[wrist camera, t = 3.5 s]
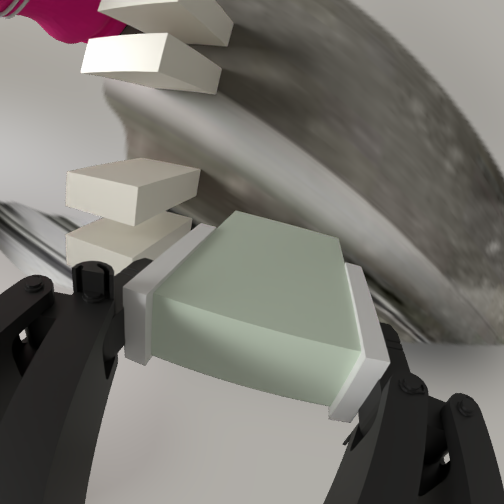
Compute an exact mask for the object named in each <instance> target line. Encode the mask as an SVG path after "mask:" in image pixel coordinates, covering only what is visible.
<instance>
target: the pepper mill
mask: <svg viewBox="0 0 504 504" xmlns="http://www.w3.org/2000/svg"><path fill="white" fill-rule="evenodd" d="M100 2H101V0H0V17H4V18H5V19H10V18H12V17H14V16H15V15H22V16H26V17H29V18H31V19H33V20H35V21H36V22H37V23H38V24H39V25H40V26H41V27H42V28H43V29H44V30H45V31H46V32H47V33H48V34H49V35H50V36H52V37H53V38H55V39H56V40H59V41H61V42H64V43H68V44H72V43H73V44H74V43H79V42H84V43H87V44H88V41H89V39H93V38H100V37H109V36H118V35H119V34H120V33H121V32H122V31H123V30H124V28H125V27H126V25H127V24H125V23H123V22H121V21H119V20H117V19H114V18H112V17H110V16H108V15H105V14H103V13H101V12H98V8H99V5H100Z"/></svg>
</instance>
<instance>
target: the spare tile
mask: <svg viewBox="0 0 504 504" xmlns="http://www.w3.org/2000/svg"><path fill="white" fill-rule="evenodd" d="M361 352H362V351H361V345H360V339H359V334H358V328H357V323H356V317H355V312H354V307H353V302H352V297H351V293H350V288H349V283H348V279H347V274H346V270H345V263H344V259H343V255H342V251H341V247H340V243H339V239H338V238H336V237H332V236H329V235H325V234H322V233H318V232H315V231H311V230H307V229H304V228H300V227H297V226H293V225H289V224H285V223H282V222H278V221H274V220H271V219H267V218H263V217H259V216H255V215H251V214H248V213H244V212H240V211H235V212H234V213H233V214H231V215H230V216H229V217H228V218H227V219H226V220H225V221H224V222H223V223H222V224H221V225H220V226H219V227H218V228H217V229H216V231H215V232H214V233H213V234H212V235H211V236H210V237H209V238H207V239H206V240H205V241H204V242H203V243H202V244H201V245H200V246H199V247H198V248H197V249H196V250H195V251H194V252H193V253H192V254H191V255H190V256H189V257H188V258H187V259H186V260H185V261H184V262H183V263H182V264H181V265H180V266H179V267H178V268H177V269H176V270H175V271H174V272H173V273H172V274H171V275H170V276H169V277H168V278H167V279H166V280H165V281H164V282H163V284H162V285H161V286H160V287H159V288H158V289H157V290H156V291H155V292H154V293H153V306H152V332H151V355H153V356H156V357H158V358H161V359H163V360H166V361H169V362H171V363H174V364H177V365H180V366H182V367H185V368H188V369H191V370H194V371H197V372H200V373H203V374H206V375H209V376H212V377H215V378H218V379H222V380H225V381H228V382H232V383H235V384H238V385H242V386H245V387H249V388H252V389H256V390H260V391H264V392H267V393H272V394H275V395H280V396H283V397H288V398H292V399H297V400H301V401H306V402H310V403H316V404H320V405H325V406H331V405H332V403H333V401H334V400H335V398H336V396H337V395H338V393H339V391H340V390H341V388H342V386H343V384H344V383H345V381H346V379H347V378H348V376H349V374H350V372H351V370H352V369H353V367H354V365H355V363H356V361H357V359H358V358H359V356H360V354H361Z"/></svg>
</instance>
